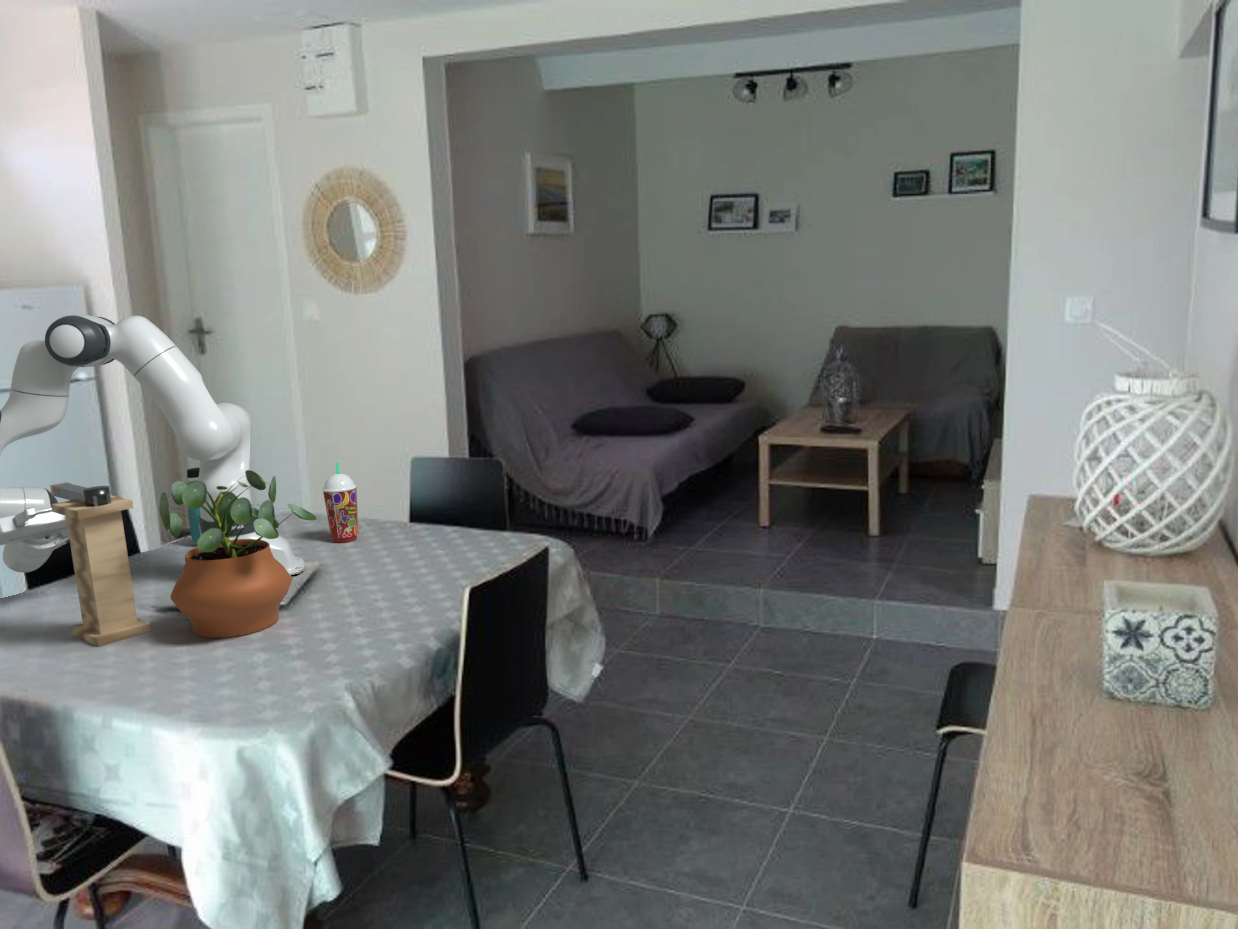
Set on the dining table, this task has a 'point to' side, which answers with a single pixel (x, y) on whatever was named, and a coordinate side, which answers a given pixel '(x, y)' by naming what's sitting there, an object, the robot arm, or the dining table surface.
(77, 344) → the robot arm
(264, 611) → the potted plant
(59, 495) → the grey rod with knob
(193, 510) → the beverage bottle
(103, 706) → the dining table surface
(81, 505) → the stand
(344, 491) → the smoothie
